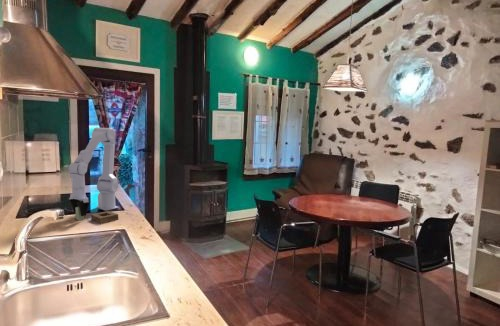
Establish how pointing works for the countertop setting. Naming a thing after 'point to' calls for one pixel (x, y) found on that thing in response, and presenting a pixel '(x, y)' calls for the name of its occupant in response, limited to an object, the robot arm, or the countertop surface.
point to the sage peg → (78, 214)
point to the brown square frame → (104, 217)
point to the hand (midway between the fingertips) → (80, 214)
